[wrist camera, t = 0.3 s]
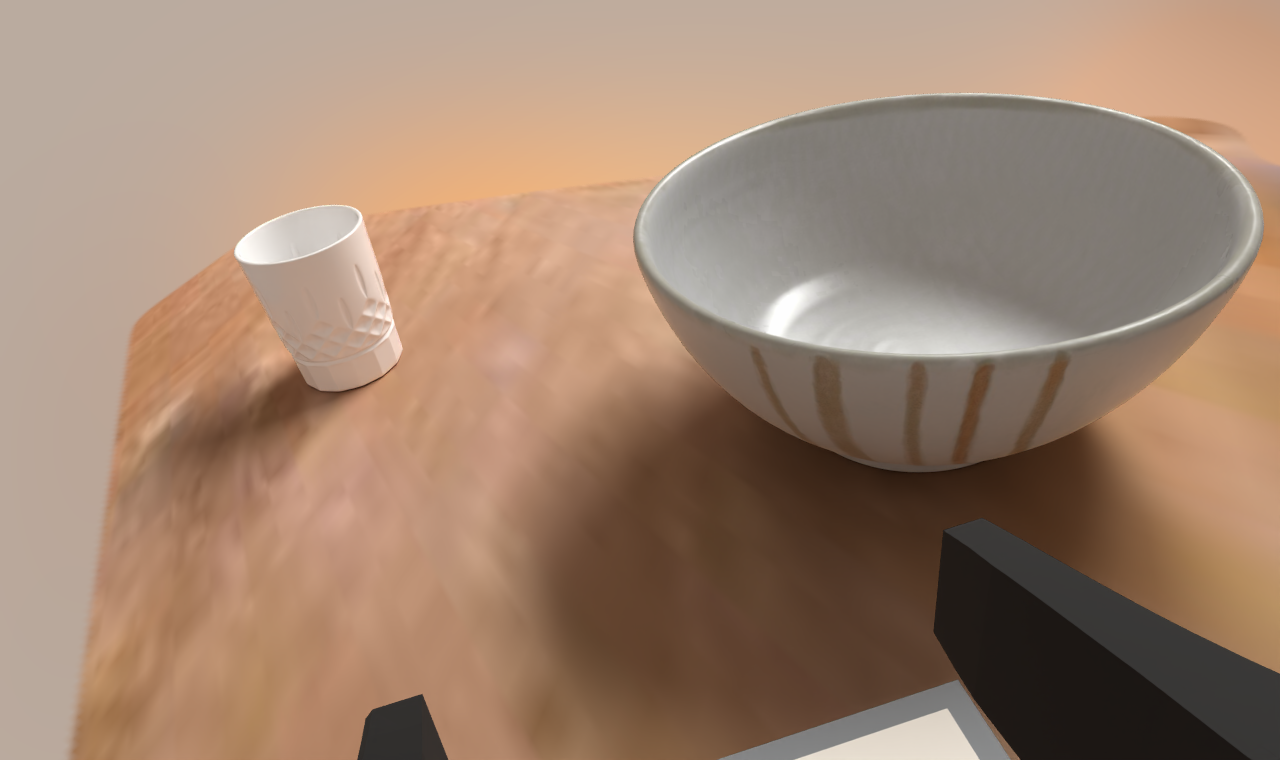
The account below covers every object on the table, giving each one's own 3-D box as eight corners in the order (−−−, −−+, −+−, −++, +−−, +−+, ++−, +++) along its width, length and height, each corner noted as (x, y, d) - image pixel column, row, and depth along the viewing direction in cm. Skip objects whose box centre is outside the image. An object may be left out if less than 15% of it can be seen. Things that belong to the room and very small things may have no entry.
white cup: (430, 331, 60) (383, 201, 54) (378, 400, 54) (320, 262, 48) (334, 331, 62) (280, 206, 57) (274, 397, 56) (206, 265, 50)
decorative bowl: (888, 703, 32) (895, 469, 25) (587, 380, 52) (544, 200, 45) (1323, 418, 40) (1421, 181, 33) (919, 234, 61) (926, 62, 54)
